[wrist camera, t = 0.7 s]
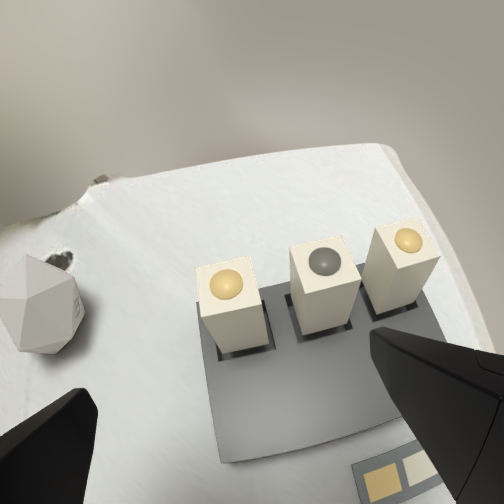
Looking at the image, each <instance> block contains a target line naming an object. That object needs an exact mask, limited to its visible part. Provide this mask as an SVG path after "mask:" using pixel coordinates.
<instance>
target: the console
mask: <svg viewBox="0 0 504 504" xmlns="http://www.w3.org/2000/svg"><path fill="white" fill-rule="evenodd" d="M364 266H365V263H362V264H358V265H356V267H357V270H358V272H359V274H360V276H362V272H363V269H364ZM258 291H259V295H260V299H261V303H262V308H263V314H264V319H265V324H266V330H267V335H268V341H269V344H266V345H262V346H257V347H253V348H248V349H243V350H238V351H234V352H229V353H224V354H222V352H221V351H220V349H219V347H218V346H217V344H216V342H215V341H214V339H213V337H212V336H211V334H210V332H209V330H208V329H207V327H206V325H205V324H204V322H203V320H202V318H201V315H200V306H199V302H196V304H197V313H198V321H199V329H200V337H201V345H202V352H203V360H204V367H205V374H206V380H207V387H208V393H209V400H210V406H211V412H212V418H213V424H214V429H215V435H216V441H217V446H218V451H219V457H220V462H221V463H233V462H239V461H246V460H252V459H257V458H263V457H268V456H273V455H277V454H282V453H287V452H291V451H295V450H299V449H303V448H307V447H311V446H315V445H318V444H322V443H326V442H329V441H332V440H336V439H339V438H342V437H345V436H349V435H352V434H355V433H358V432H361V431H363V430H366V429H369V428H372V427H375V426H377V425H380V424H383V423H385V422H388V421H390V420H393V419H395V418H398V417H400V416H402V415H401V413H400V412H399V410H398V409H397V407H396V406H395V404H394V403H393V401H392V399H391V398H390V396H389V394H388V392H387V390H386V388H385V386H384V384H383V382H382V379H381V377H380V375H379V373H378V371H377V369H376V367H375V365H374V363H373V361H372V359H371V355H370V340H369V333H370V331H371V330H372V329H374V328H377V327H380V326H384V327H388V328H392V329H396V330H399V331H403V332H407V333H411V334H415V335H419V336H423V337H426V338H430V339H434V340H438V341H442V342H447V341H446V339H445V337H444V335H443V332H442V330H441V328H440V326H439V323H438V321H437V319H436V317H435V315H434V313H433V311H432V308H431V306H430V304H429V302H428V300H427V298H426V296H425V294H424V292H423V290H421V291H420V293H419V294H418V296H417V298H416V299H415V301H414V302H413V303H410V304H407V305H404V306H402V307H399V308H396V309H392V310H389V311H386V312H383V313H380V314H377V315H376V312H375V310H374V308H373V305H372V303H371V300H370V298H369V296H368V293H367V291H366V289H365V287H364V284H363V282H362V280H361V283H360V286H359V289H358V292H357V295H356V298H355V301H354V304H353V307H352V310H351V313H350V316H349V319H348V322H347V324H344V325H340V326H337V327H333V328H329V329H326V330H322V331H318V332H315V333H311V334H307V335H303V336H302V332H301V329H300V326H299V322H298V319H297V316H296V312H295V309H294V306H293V302H292V299H291V289H290V282H285V283H281V284H277V285H273V286H268V287H264V288H260V289H258Z"/></svg>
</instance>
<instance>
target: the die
mask: <svg viewBox="0 0 504 504" xmlns="http://www.w3.org/2000/svg"><path fill="white" fill-rule="evenodd" d="M84 315H85V310H84V307H83V304H82V301H81V298H80V294H79V291H78V288H77V284H76V281H75V277H74V276H72V275H70V274H68V273H67V272H65V271H63V270H61V269H60V268H57V267H55V266H53V265H50V264H48V263H46V262H43V261H41V260H39V259H36V258H34V257H32V256H30V255H27V254H25V255H24V256H23V257H22V259H21V260H20V261H19V262H18V263H17V265H16V266H15V267H14V268H13V270H12V271H11V272H10V274H9V275H8V276H7V277H6V279H5V280H4V281H3V283H2V284H1V285H0V317H1V319H2V321H3V323H4V325H5V327H6V329H7V331H8V333H9V335H10V336H11V338H12V340H13V342H14V344H15V345H16V347H17V349H18V351H19V352H31V353H48V354H56V353H57V352H58V351H59V350H60V349H61V348H62V347H64V346H65V345H66V344H67V343H68V342H69V341H70V340H71V339H72V337H73V335H74V334H75V332H76V330H77V328H78V326H79V324H80V322H81V321H82V319H83V317H84Z"/></svg>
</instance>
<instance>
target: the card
mask: <svg viewBox="0 0 504 504" xmlns="http://www.w3.org/2000/svg"><path fill="white" fill-rule="evenodd" d="M351 466H352V470H353V473H354V477H355V481H356V485H357V489H358V493H359V496H360V500H361V504H399V503H401V502H404V501H406V500H408V499H410V498H412V497H415V496H417V495H419V494H421V493H423V492H425V491H427V490H429V489H431V488H433V487H435V486H437V485H439V484H441V483H443V480H442V478H441V477H440V475H439V474H438V472H437V470H436V469H435V467H434V465H433V464H432V462H431V461H430V459H429V457H428V456H427V454H426V453H425V451H424V449H423V448H422V446H421V445H420V443H419V441H418V440H415V441H413V442H410V443H408V444H406V445H403V446H401V447H399V448H396V449H394V450H391V451H389V452H386V453H384V454H381V455H379V456H376V457H373V458H371V459H368V460H365V461H362V462H359V463H356V464H353V465H351Z"/></svg>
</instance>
